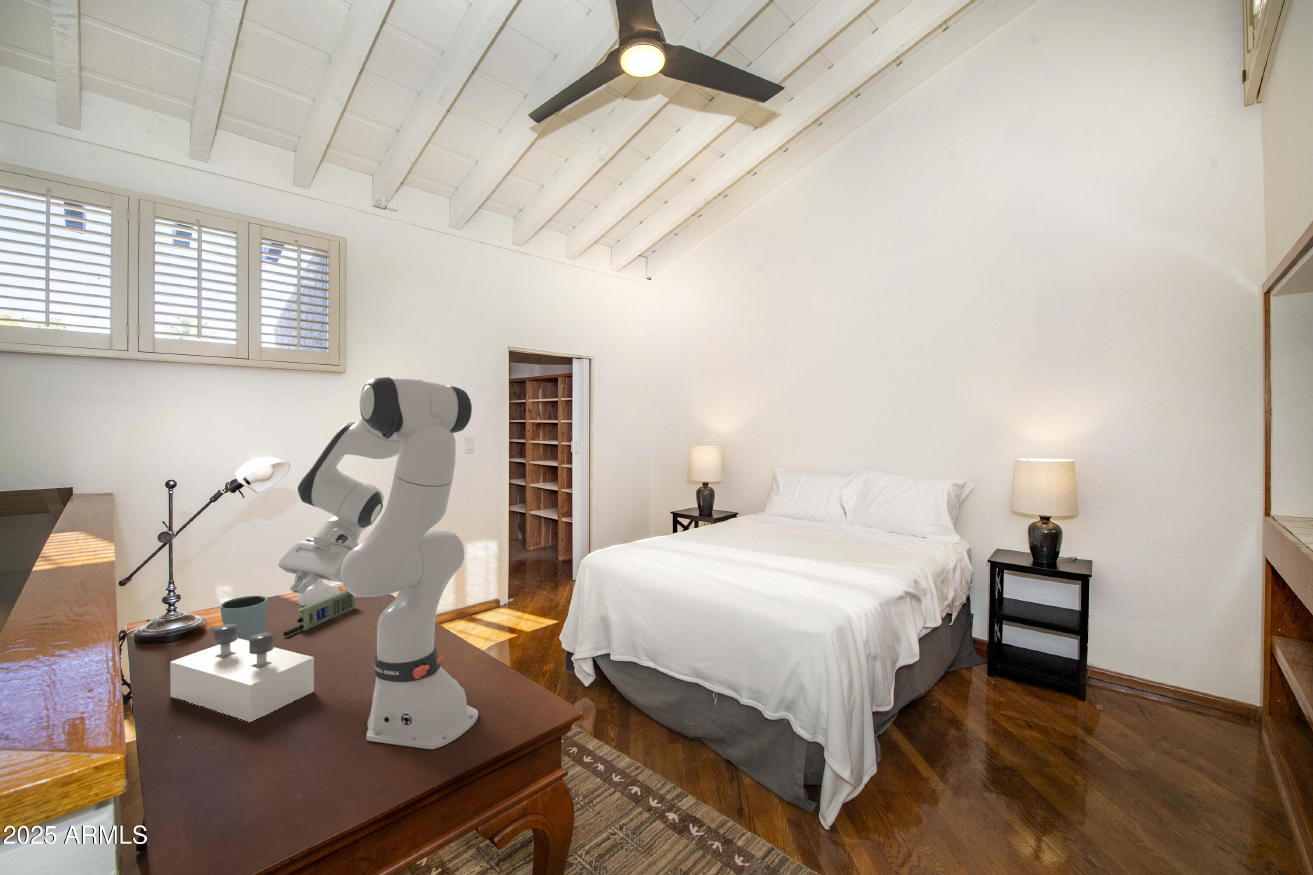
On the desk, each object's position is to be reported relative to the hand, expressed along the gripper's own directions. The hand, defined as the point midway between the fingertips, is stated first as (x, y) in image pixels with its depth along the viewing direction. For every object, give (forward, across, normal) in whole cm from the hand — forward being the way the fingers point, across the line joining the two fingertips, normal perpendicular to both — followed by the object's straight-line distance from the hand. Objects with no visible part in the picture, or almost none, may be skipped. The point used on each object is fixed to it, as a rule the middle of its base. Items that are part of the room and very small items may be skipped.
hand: (295, 591), depth 128 cm
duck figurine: (-12, -44, +44) cm, 64 cm away
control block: (+21, -6, +10) cm, 24 cm away
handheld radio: (-4, -29, +36) cm, 47 cm away
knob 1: (+15, -12, +4) cm, 20 cm away
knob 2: (+15, 0, +4) cm, 16 cm away
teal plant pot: (+10, -32, +22) cm, 40 cm away
